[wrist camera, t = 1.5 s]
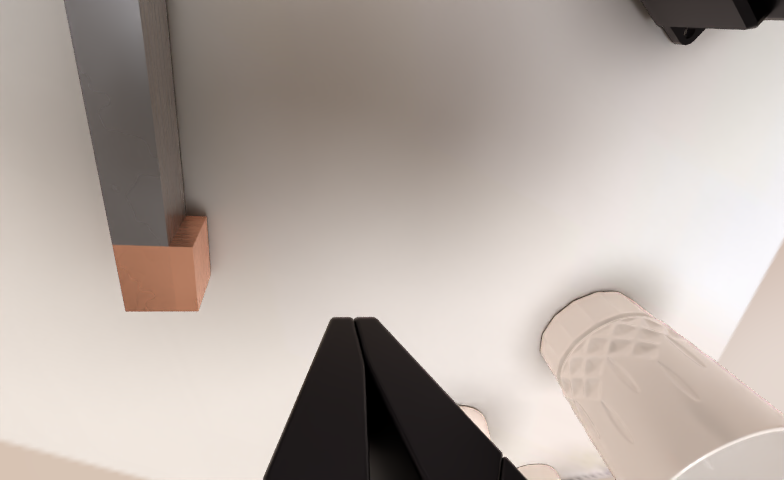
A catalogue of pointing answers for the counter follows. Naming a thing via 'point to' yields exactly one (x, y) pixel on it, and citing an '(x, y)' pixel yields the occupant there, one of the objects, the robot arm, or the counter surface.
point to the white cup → (658, 397)
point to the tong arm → (139, 151)
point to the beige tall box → (539, 472)
